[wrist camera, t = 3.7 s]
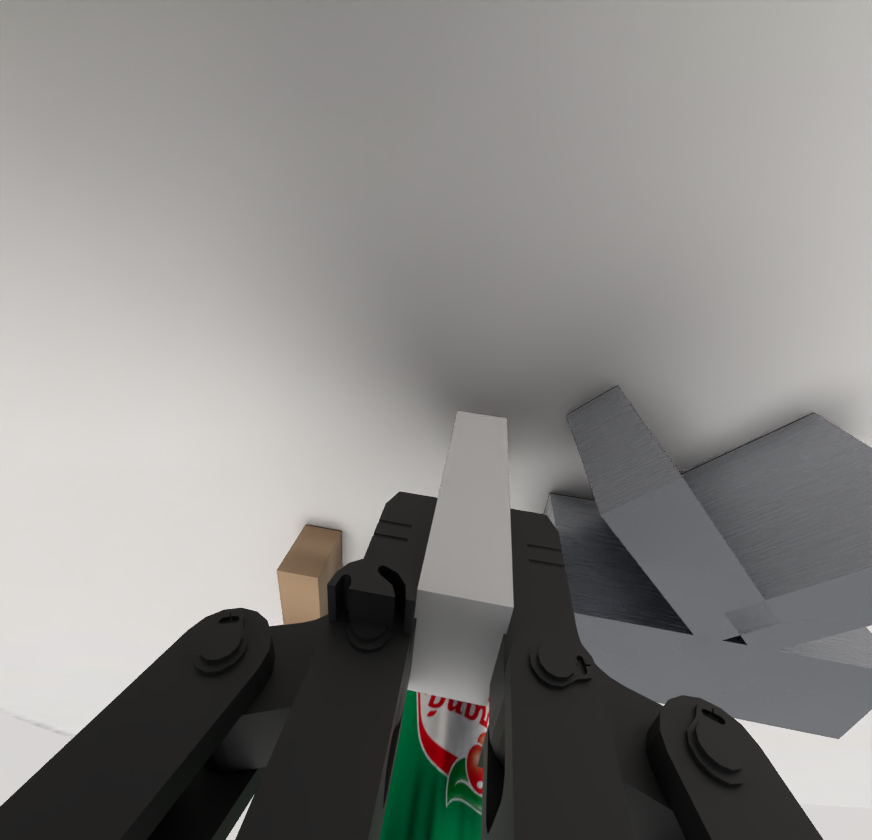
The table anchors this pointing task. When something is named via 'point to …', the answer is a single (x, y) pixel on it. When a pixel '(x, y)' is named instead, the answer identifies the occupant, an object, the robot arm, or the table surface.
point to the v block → (725, 568)
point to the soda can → (437, 771)
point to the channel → (309, 574)
